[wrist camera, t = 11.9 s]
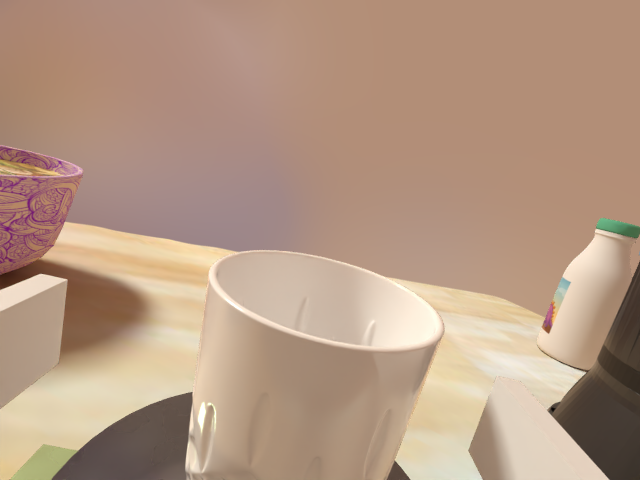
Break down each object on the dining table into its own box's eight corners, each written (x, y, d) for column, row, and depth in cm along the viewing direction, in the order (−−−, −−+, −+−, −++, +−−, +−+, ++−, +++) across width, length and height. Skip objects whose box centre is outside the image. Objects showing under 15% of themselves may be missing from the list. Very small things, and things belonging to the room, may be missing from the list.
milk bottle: (607, 371, 52) (669, 233, 48) (577, 373, 48) (640, 225, 44) (554, 341, 58) (604, 218, 54) (523, 342, 55) (574, 210, 51)
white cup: (403, 545, 15) (483, 321, 13) (240, 731, 9) (336, 384, 7) (281, 423, 20) (324, 248, 18) (127, 494, 14) (164, 251, 12)
